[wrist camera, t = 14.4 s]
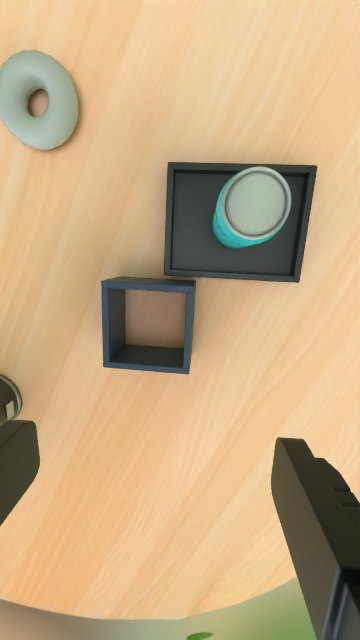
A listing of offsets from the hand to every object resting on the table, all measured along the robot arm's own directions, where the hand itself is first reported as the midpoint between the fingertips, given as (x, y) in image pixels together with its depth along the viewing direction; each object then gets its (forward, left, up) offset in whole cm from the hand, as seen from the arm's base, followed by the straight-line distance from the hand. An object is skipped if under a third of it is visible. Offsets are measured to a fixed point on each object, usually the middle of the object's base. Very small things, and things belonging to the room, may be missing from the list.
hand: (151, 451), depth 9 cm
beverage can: (+5, +10, -30) cm, 32 cm away
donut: (-20, +24, -30) cm, 43 cm away
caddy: (-5, -2, -30) cm, 30 cm away
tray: (+5, +11, -30) cm, 32 cm away
